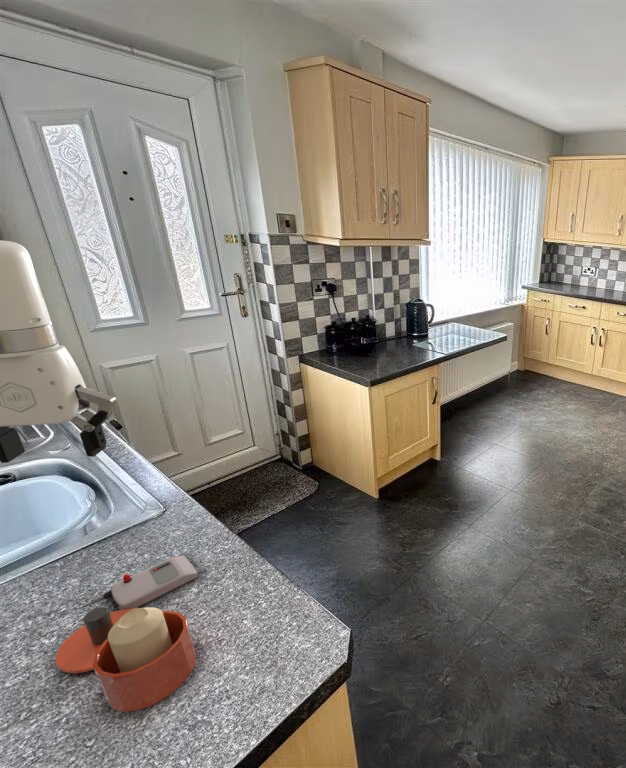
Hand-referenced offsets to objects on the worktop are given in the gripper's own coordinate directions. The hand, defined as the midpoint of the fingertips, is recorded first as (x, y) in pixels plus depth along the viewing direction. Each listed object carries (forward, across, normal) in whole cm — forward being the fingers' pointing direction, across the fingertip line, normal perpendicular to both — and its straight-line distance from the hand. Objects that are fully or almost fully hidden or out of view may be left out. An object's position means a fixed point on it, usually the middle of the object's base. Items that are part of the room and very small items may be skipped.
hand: (56, 454), depth 60 cm
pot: (+26, +14, -17) cm, 34 cm away
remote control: (+26, +6, 0) cm, 27 cm away
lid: (+26, +5, -10) cm, 28 cm away
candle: (+26, +14, -17) cm, 34 cm away
